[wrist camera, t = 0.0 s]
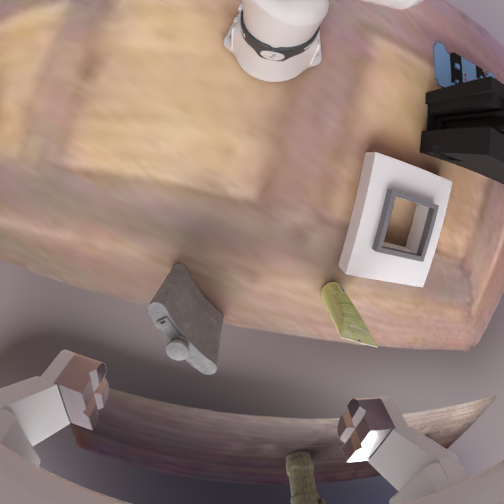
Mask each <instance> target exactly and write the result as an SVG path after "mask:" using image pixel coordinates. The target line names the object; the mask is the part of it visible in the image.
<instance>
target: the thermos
mask: <svg viewBox="0 0 504 504" xmlns="http://www.w3.org/2000/svg"><path fill="white" fill-rule="evenodd" d="M286 471H287V475H288V476H289V481H290V488H291V496H292V498H291V504H326V503H325V500H324V499H323V498H319V494H318V493H317V491H316V485H315V480H314V475H313V471H314V467H313V462H312V459H311V454H310V453H309V452H308V451H295V452H292V453H290V454H288V455H287V456H286Z"/></svg>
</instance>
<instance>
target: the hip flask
mask: <svg viewBox="0 0 504 504" xmlns="http://www.w3.org/2000/svg"><path fill="white" fill-rule="evenodd" d="M148 313H149V315H150V317H151V319H152V320H153V322H154V324H155V325H156V326H157V328H158V329H159V331H160V332H161V333H162V335H163V336H164V337H165V339H166V340H167V341H168V342H169V343H168V344H167V347H166V352H167V354H168V356H169V357H170V358H172V359H174V360H179V361H180V360H184V359H185V360H186V361H187V362H189V363H190V364H191V365H192V366H194V367H195V368H196V369H197V370H199V371H200V372H202V373H204V374H208V375H209V374H213V373H215V372H216V370H217V363H218V355H219V347H220V339H221V330H222V323H223V314H222V313H221V312H220V311H219V310H217V309H216V308H215V307H214V306H213V305H212V304H211V303H210V302H209V301H208V300H207V298H206V297H205V296H204V295H203V293H202V292H201V291H200V290H199V288H198V287H197V285H196V284H195V282H194V281H193V279H192V277H191V276H190V274H189V272H188V270H187V268H186V266H185V265H183V264H180V263H178V264H176V265H174V267H173V268H172V270H171V271H170V273H169V274H168V276H167V277H166V279H165V281H164V282H163V284H162V285H161V287H160V288H159V290H158V292H157V293H156V295H155V296H154V298H153V299H152V301H151V303H150V304H149V306H148Z"/></svg>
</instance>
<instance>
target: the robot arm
mask: <svg viewBox="0 0 504 504" xmlns="http://www.w3.org/2000/svg"><path fill="white" fill-rule="evenodd" d="M360 1H365V2H369V3H374V4H378V5H382V6H386V7H391V8H395V9H398V10H404V9H408V8H411V7H413V6H416V5H418V4H419V3H421V2H422V1H424V0H360ZM328 8H329V0H242V2H241V3H240V4H239V7H238V11H239V13H238V15H237V16H236V17H235V19H234V22H233V24H232V26H231V27H230V29H229V31H228V33H227V35H226V37H225V39H224V42H223V44H224V46H225V47H226V48H227V49H228V50H229V51H231V52H232V53H233V54H234V56H235V57H236V60H237V62H238V63H239V65H240V66H241V67H242V69H243V70H244V71H246V72H247V73H248V74H250V75H251V76H253V77H255V78H257V79H260V80H263V81H269V82H281V81H286V80H289V79H292V78H294V77H296V76H297V75H299V74H300V73H301V72H302V71H304V70H305V69H307V68H309V67H313V66H316V65H318V64H320V62H321V45H320V31H319V29H320V24H321V22H322V20H323V19H324V17H325V15H326V14H327V11H328ZM230 37H231V38H230ZM105 374H106V367H105V364H104V363H102V362H99V361H96V360H93V359H90V358H88V357H85V356H82V355H79V354H76V353H73V352H71V351H68V350H63V351H61V352H60V354H59V355H58V356H57V357H56V358H55V360H54V361H53V362H52V363H51V365H50V366H49V367H48V368H47V370H46V371H45V372H44V373H43V375H42V376H41V377H38V376H35V377H32V378H30V379H27V380H24V381H21V382H18V383H15V384H12V385H9V386H6V387H4V388H0V504H132V503H128V502H125V501H121V500H118V499H115V498H112V497H109V496H106V495H103V494H101V493H98V492H95V491H92V490H90V489H87V488H84V487H82V486H80V485H77V484H75V483H73V482H70V481H68V480H66V479H64V478H61V477H59V476H57V475H55V474H53V473H51V472H49V471H47V470H45V469H43V468H41V467H39V464H40V462H41V461H40V458H39V456H38V454H37V453H36V451H35V450H34V448H33V446H34V445H36V444H37V443H39V442H41V441H42V440H44V439H46V438H47V437H49V436H51V435H52V434H54V433H56V432H57V431H59V430H60V429H62V428H64V427H65V426H67V425H69V424H70V422H71V423H74V424H76V425H79V426H82V427H85V428H88V429H90V430H93V428H94V426H95V424H96V422H97V420H98V418H99V413H98V410H99V409H101V408H103V407H104V405H105V403H106V401H107V397H108V389H109V387H108V382H107V380H106V379H105V378H104V375H105ZM347 407H348V411H346V412H345V413H344V414H342V416H341V418H340V420H339V423H338V435H339V438H340V439H341V440H342V441H343V442H344V443H345V444H344V446H343V451H344V455H345V458H346V461H347V462H356V461H367V460H368V462H369V463H370V464H371V465H372V466H373V467H374V468H375V469H376V470H377V471H378V472H379V473H380V474H381V475H382V476H383V477H384V478H386V480H387V481H389V482H390V483H391V484H392V485H393V486H394V487H395V488H396V489H397V490H398V491H399V492H398V493H397V494H395V495H394V496H393V497H392V498H391V499H390V500H389V504H504V460H503V461H501V462H500V463H498V464H496V465H494V466H492V467H491V468H488V469H487V470H485V471H483V472H481V473H479V474H477V475H475V476H473V477H470V478H468V476H467V474H466V472H465V470H464V469H463V467H462V465H461V463H460V461H459V460H458V458H457V456H456V455H455V454H453V453H452V452H450V451H448V450H447V449H445V448H444V447H442V446H441V445H439V444H437V443H436V442H434V441H433V440H431V439H430V438H428V437H427V436H425V435H423V434H422V433H420V432H419V431H417V430H416V429H414V428H413V427H408V426H407V424H406V422H405V420H404V418H403V416H402V415H401V413H400V411H399V409H398V407H397V406H396V404H395V402H394V400H393V399H392V398H391V397H378V398H353V399H352V400H350V402H349V403H348V405H347Z"/></svg>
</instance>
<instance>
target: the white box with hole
mask: <svg viewBox="0 0 504 504" xmlns="http://www.w3.org/2000/svg"><path fill="white" fill-rule="evenodd" d="M451 187H452V182H451V181H449V180H447V179H445V178H442V177H440V176H438V175H435V174H433V173H431V172H428V171H426V170H423V169H421V168H418V167H416V166H413V165H410V164H408V163H405V162H402V161H400V160H397V159H394V158H391V157H389V156H386V155H383V154H380V153H377V152H366V153H365V157H364V162H363V167H362V172H361V176H360V181H359V186H358V190H357V194H356V199H355V203H354V207H353V211H352V215H351V220H350V224H349V227H348V231H347V235H346V239H345V243H344V246H343V250H342V254H341V257H340V261H339V264H338V266H339V267H340V269H341V270H342V271H343V272H344V273H345V274H346V275H352V276H358V277H364V278H370V279H376V280H382V281H388V282H394V283H400V284H406V285H412V286H418V287H423V286H424V283H425V280H426V277H427V274H428V271H429V268H430V265H431V262H432V259H433V256H434V253H435V250H436V246H437V243H438V240H439V236H440V233H441V229H442V225H443V221H444V217H445V213H446V209H447V205H448V201H449V196H450V191H451ZM395 197H398V198H401V199H404V200H407V201H410V202H413V203H416V204H417V205H416V209H415V213H414V217H413V221H412V225H411V228H410V232H409V236H408V239H407V243H406V246H405V247H404V246H399V245H395V244H391V243H386V242H384V239H385V235H386V232H387V228H388V224H389V220H390V217H391V213H392V209H393V204H394V200H395Z"/></svg>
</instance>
